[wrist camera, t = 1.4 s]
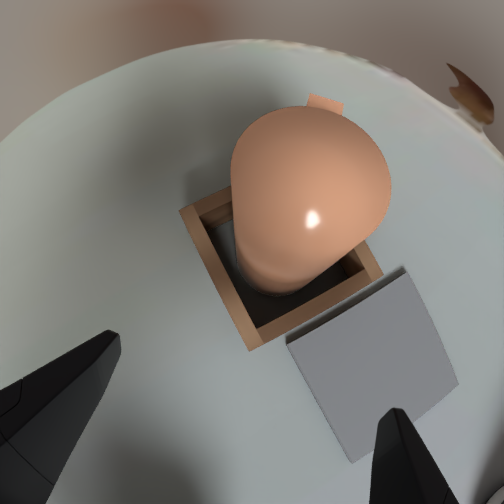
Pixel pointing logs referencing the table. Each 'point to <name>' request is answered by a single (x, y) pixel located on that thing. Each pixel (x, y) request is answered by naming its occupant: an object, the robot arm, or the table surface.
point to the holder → (198, 223)
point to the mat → (375, 364)
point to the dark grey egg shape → (497, 497)
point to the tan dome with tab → (303, 194)
